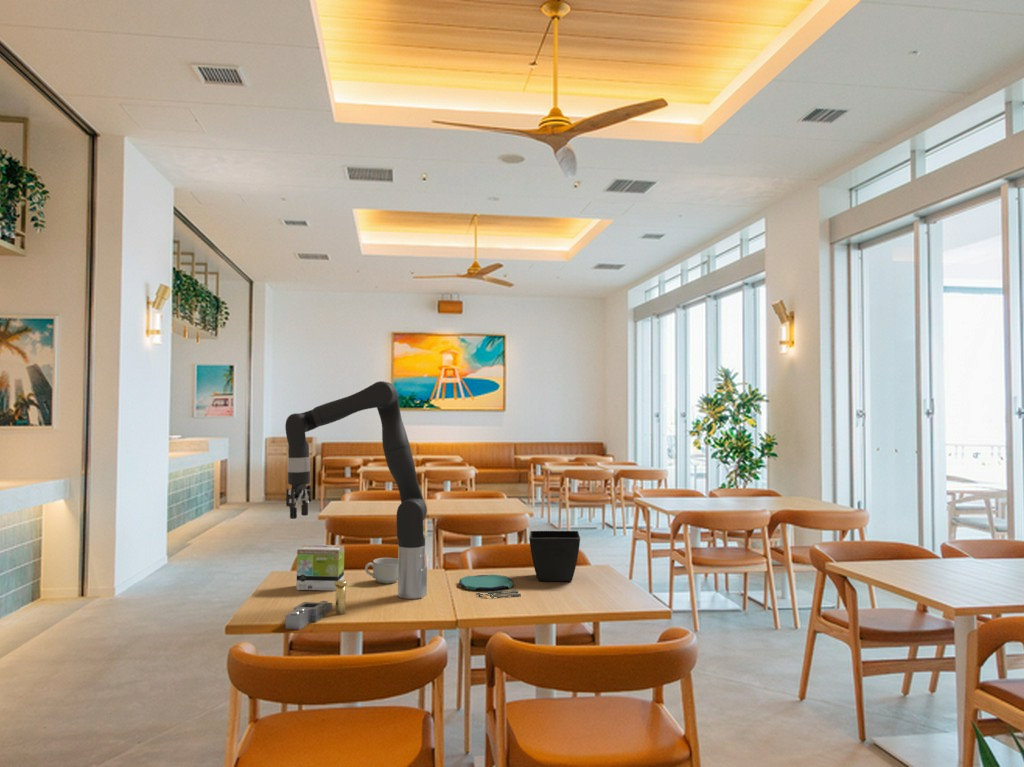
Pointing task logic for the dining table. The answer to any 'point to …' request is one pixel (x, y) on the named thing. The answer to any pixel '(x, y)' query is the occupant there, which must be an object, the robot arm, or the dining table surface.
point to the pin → (340, 596)
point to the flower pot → (554, 554)
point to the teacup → (384, 570)
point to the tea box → (319, 567)
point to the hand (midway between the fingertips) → (299, 516)
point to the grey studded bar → (307, 614)
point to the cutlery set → (489, 584)
